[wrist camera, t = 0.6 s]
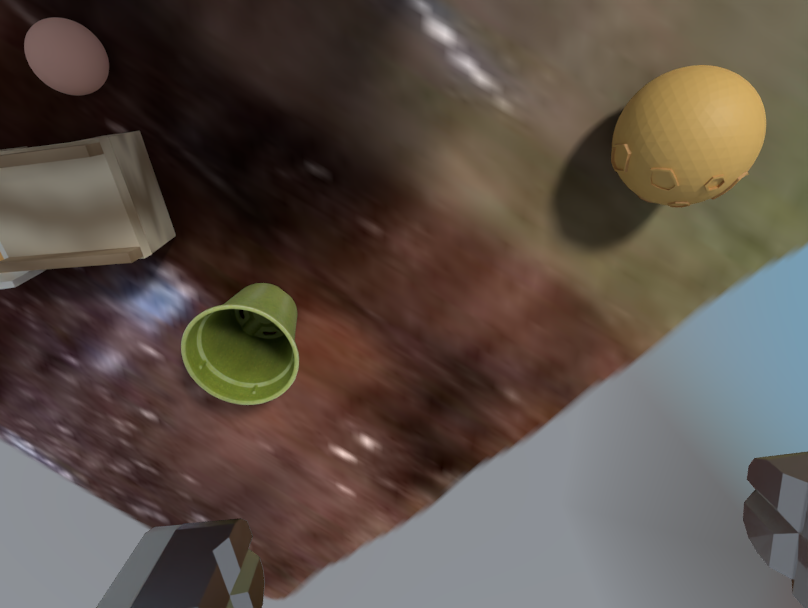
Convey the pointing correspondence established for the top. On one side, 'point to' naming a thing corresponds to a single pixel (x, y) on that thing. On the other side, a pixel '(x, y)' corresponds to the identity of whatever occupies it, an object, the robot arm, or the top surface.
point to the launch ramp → (80, 204)
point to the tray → (14, 274)
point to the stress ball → (688, 135)
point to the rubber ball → (66, 56)
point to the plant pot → (244, 346)
